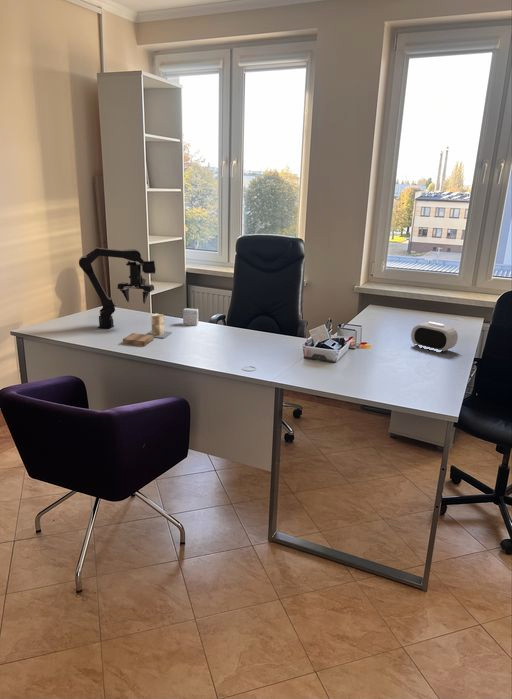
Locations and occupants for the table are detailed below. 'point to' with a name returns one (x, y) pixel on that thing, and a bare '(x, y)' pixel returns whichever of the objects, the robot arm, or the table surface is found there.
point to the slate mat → (159, 335)
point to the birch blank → (157, 324)
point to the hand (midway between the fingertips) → (136, 302)
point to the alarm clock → (434, 336)
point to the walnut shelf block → (138, 339)
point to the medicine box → (190, 316)
